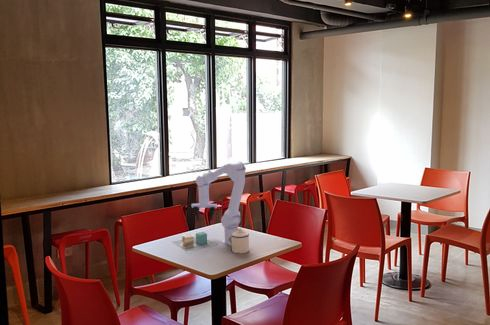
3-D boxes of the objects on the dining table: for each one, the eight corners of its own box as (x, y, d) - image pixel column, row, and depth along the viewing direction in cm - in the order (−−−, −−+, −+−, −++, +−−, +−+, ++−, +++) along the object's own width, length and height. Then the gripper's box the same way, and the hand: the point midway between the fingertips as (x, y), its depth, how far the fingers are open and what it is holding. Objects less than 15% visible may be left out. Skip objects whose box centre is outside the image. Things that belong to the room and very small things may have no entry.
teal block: (207, 242, 248) (206, 233, 247) (199, 244, 245) (199, 235, 245) (203, 240, 252) (203, 231, 251) (196, 242, 249) (195, 233, 249)
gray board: (217, 246, 244) (217, 244, 243) (186, 252, 234) (186, 250, 234) (201, 237, 261) (201, 236, 260) (171, 242, 251) (171, 241, 251)
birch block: (193, 245, 244) (193, 236, 243) (185, 246, 241) (185, 237, 241) (190, 243, 247) (189, 234, 247) (182, 244, 245) (182, 235, 245)
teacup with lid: (253, 250, 235) (252, 228, 233) (241, 255, 228) (241, 232, 226) (235, 246, 242) (234, 224, 241) (223, 250, 235) (222, 228, 234)
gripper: (218, 195, 261) (219, 218, 263) (193, 195, 264) (194, 218, 266) (214, 197, 254) (215, 221, 256) (189, 197, 257) (190, 221, 259)
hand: (204, 220), depth 260 cm, fingers open, 7 cm apart
